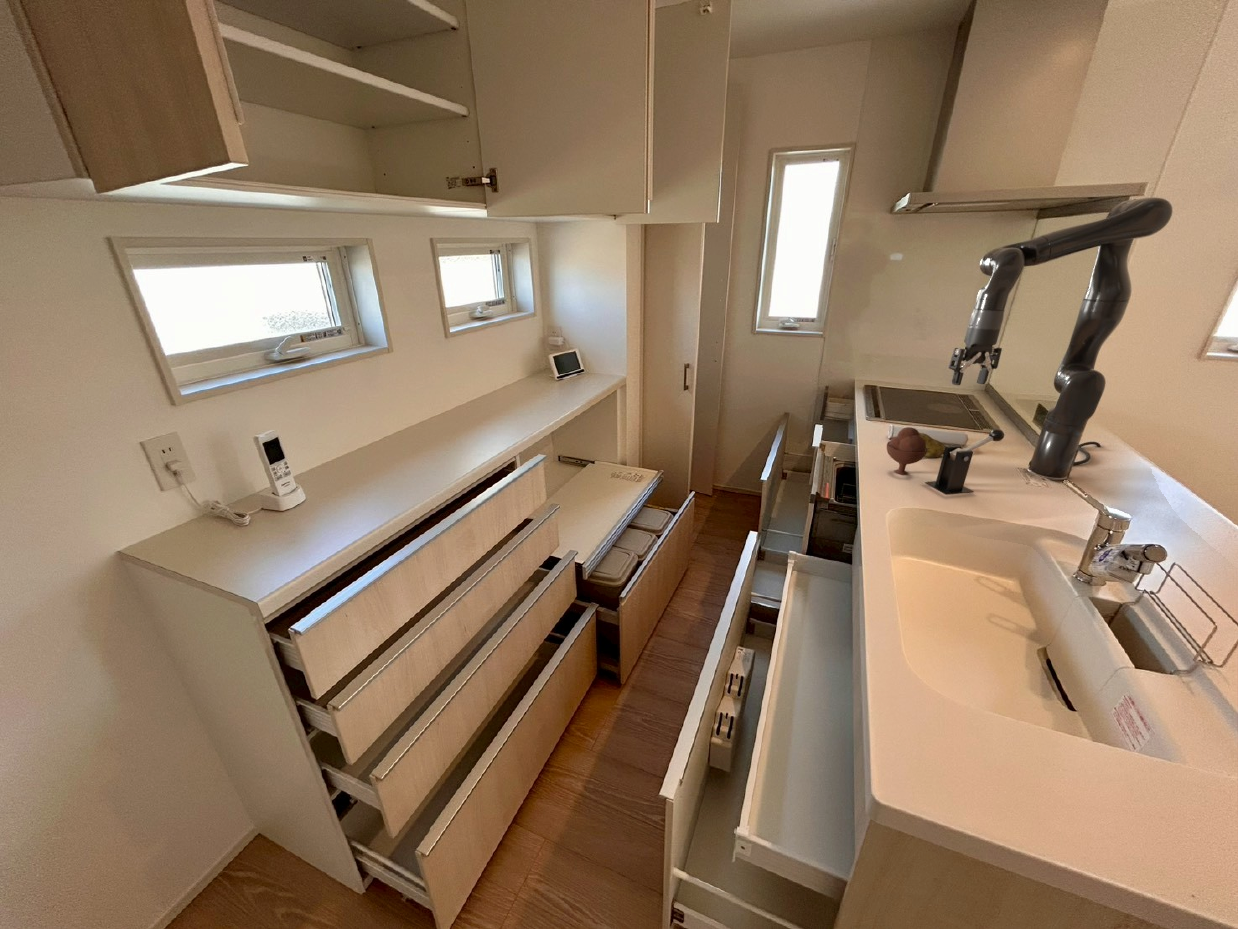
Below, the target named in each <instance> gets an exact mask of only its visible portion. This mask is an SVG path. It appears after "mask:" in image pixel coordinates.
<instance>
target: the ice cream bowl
mask: <svg viewBox="0 0 1238 929" xmlns="http://www.w3.org/2000/svg"><path fill="white" fill-rule="evenodd" d="M906 427H907V428H903V429H902V430H901V431H900V432H899V433H898V435H897V436H895V437H894V438H891V439H889V441H887V443H886V452H887V454H888V456H889V457H890V459H892V460H894V461H895V462H896V463H898V464H899V466H898V469H894V470H893V473H895V474H897V475H900V476H907V475H909V472H907V471H906V466H907V465H912V464H916V463H918V462H920V461H922V460H924V458H925V457H924V456H925V455H926V453H927V450H928V448H926V442H925V440H924V439H923V438H922V437H920V434H919V432H918V431H917V430H916V429H915V428H916V427H915V428H912V427H913V426H906Z"/></svg>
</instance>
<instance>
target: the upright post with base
mask: <svg viewBox="0 0 1238 929" xmlns="http://www.w3.org/2000/svg"><path fill="white" fill-rule="evenodd" d="M957 448H960V449H963V446H959V445H957V446H956V445H946V446H945V450H944V454H943V455H942V458H941V462H940V464H939V469H938V473H937V477H936V480H934V481H924V484H926V485H927V486H929V487H931V488H933V489H934V490H936V491H938V492H940V493H942V494H943V495H944V496H945V495H946V496H947V495H957V494H958V495H959V494H968V493H969V494H970V493H974V490H972V489H970V488H968V487H966V486H964V485H965V482H966V479H967V475H968V472H969V469H970V466H971V462H972V458H973V455H974V450H972V451H971V450H968V451H957V452H956V456H955V460H952V459H951V458H950V452H951V451H953V450H955V449H957Z"/></svg>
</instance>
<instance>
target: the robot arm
mask: <svg viewBox="0 0 1238 929" xmlns="http://www.w3.org/2000/svg"><path fill="white" fill-rule="evenodd" d="M1173 210H1174V209H1173V205H1172V204H1171V202H1170V201H1169V200H1167V199H1165V198H1162V197H1157V196H1156V197H1144V198H1143V197H1142V198H1136V199H1135V198H1134V199H1129V200H1124V201H1122V202H1120V203H1117V204H1116V205H1115V206H1114V207H1112V209H1110V211H1109V212H1108V214H1107V215H1106V217H1105V218H1103V219H1100V220H1096V221H1092V222H1087V223H1083V224H1082V223H1081V224H1079V225H1073V226H1070V227H1066V228H1062V229H1057V230H1054V231H1050V232H1048V233H1045V234H1042V235H1038V236H1036V237H1033V238H1031V239H1028V240H1025V241H1020V242H1015V243H1011V244H1008V245H1007V244H1006V245H1003V246H999V247H997V248H994V249H992V250H989V251H987V252H986V254H984V255H983V257H982V258H981V260H980V262H979V268H980V269H979V270H980V271H981V272H982V274H984V275H985V276H988V277H990V280H989V281H988V283H987V285H985V286H983V287H982V288H980V289H979V290H978V292H977V295H976V298H975V302H974V307H973V310H972V312H971V315H970V318H969V321H968V325H967V329H966V332H965V336H964V343H965V346H964V348H960V347H955V348H954V349H953V352H952V355H951V359H950V361H949V365H948V369H949V370H952V371H953V375H952V379H951V383H952V385H953V386H961V384H962V380H963V376H964V373H965V370H967V368H968V367H971V366H972V365H976V364H978V365H979V367H980V370H979V373H978V376H977V379H976V384H979V385H986V383H987V381H988V377H989V374H990V372H991V371H993V370H996V369H998V367H999V364H1000V359H1001V356H1002V355H1001V354H1002V351H1003V348H1002V347H999V346H995V345H997V343H998V339H999V336H1000V332H1001V329H1002V325H1003V322H1004V317H1005V311H1006V307H1007V304H1008V300H1009V297H1010V293H1011V292H1012V290H1013V289H1014V287H1015V285H1016V284H1017V282H1018V280H1019V278H1020V276H1021V275H1022V272H1023V270H1024V267H1034V266H1039V265H1043V264H1046V263H1049V262H1053V261H1056V260H1058V259H1061V258H1065V257H1068V256H1071V255H1074V254H1077V253H1080V252H1083V251H1087V250H1091V249H1094V248H1097V247H1098V248H1097V253H1096V257H1095V261H1094V265H1093V268H1092V271H1091V274H1090V278H1089V281H1088V284H1087V288H1086V290H1085V293H1084V296H1083V299H1082V302H1081V304H1080V307H1079V311H1078V314H1077V318H1076V321H1075V324H1074V327H1073V330H1072V333H1071V337H1070V340H1069V344H1068V346H1067V349H1066V351H1065V353H1064V356H1063V358H1062V360H1061V363H1060V364H1059V366H1058V369H1057V371H1056V374H1055V376H1054V377H1053V387H1054V389H1055V391H1056V392H1057V393H1058V394H1060V395H1059V398H1058V400H1057V402H1056V404H1055V406H1054V407H1052V408H1050V409H1048V411H1047V413H1046V415H1045V418H1044V421H1043V423H1042V424H1043V425H1042V428H1041V430H1040V433H1039V436H1038V440H1037V442H1036V445H1035V448H1034V450H1033V454H1032V457H1031V459H1030V461H1029V462H1028V465H1027V467H1028V468H1027V471H1028V472H1030V473H1032V474H1034V475H1037V476H1040V477H1042V478H1045V479H1046V480H1048V481H1052V482H1053V481H1054V482H1063V481H1065V480H1064V479H1066V480H1067V479H1068V478H1069V477H1070V474H1071V472H1072V469H1073V467H1074V466H1078V465H1082V464H1085V463H1087V462H1089V461H1090V459H1091V454H1090V453H1089V452H1088V451H1087V450H1086V449H1084V448H1082V447H1085V446H1091V445H1094V446H1096V447H1097V448H1101V447H1102V445H1101V444H1100V443H1099V442H1098V441H1085V442H1083V443H1081V440H1082V437H1083V434H1084V432H1085V429H1086V426H1087V424H1088V421H1089V420H1090V419H1091V418H1092V417H1093V416H1094V414H1095V413H1096V411H1097V408H1098V406H1099V403H1100V402H1101V399H1102V397H1103V394H1104V392H1105V390H1106V378H1105V376H1104V374H1103V373H1102V372H1100V371H1099V370H1096V369H1095V367H1096V362H1097V359H1098V356H1099V353H1100V351H1101V348H1102V347H1103V346H1104V344H1105V343H1106V341H1107V340H1108V339H1109V337H1110V336H1111V335H1112V334H1113V333H1114V331H1115V330H1116V329H1117V328H1118V327H1119V325H1120V323H1121V322H1122V320H1123V319H1124V316H1125V313H1126V311H1127V308H1128V305H1129V302H1130V301H1131V296H1132V291H1133V290H1132V283H1131V282H1132V281H1131V277H1130V273H1129V266H1128V262H1129V261H1128V260H1129V254H1130V251H1131V248H1132V245H1133V243H1134V240H1135V239H1144V238H1147V237H1151V236H1153V235H1155V234H1157V233H1159V232H1160V231H1162V230H1163V229H1164V228H1166V226H1167V225H1168V223H1169V222H1170V221H1171V219H1172V216H1173V212H1174V211H1173ZM1079 452H1081V453H1082V454H1084V455H1085V458H1084V459H1082V460H1079V461H1078V460H1077V461H1076V459H1077V456H1078V454H1079Z"/></svg>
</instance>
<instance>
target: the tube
mask: <svg viewBox="0 0 1238 929" xmlns="http://www.w3.org/2000/svg"><path fill="white" fill-rule="evenodd" d="M907 427H908V426H904V425H894V424H889V427H888V432H887V438H888V440H891V439H892V438H894V437H895V436H897V435H898V433H899V432H900V431H901V430H902V429H903V428H907ZM911 427H912V428H915V429H916V430H917V431H918V432H920V433H925V434H927V435H929V436H930V437H931V438H933V439H935V440H938V441H940V442H942V443H943V444H945V445H946V446H957V445H959V446H962V447H963V446H967V444H968V442H969V434H968V433H965V432H964V431H963V432H962V431H953V430H942V429H933V428H924V427H913V426H911Z"/></svg>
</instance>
